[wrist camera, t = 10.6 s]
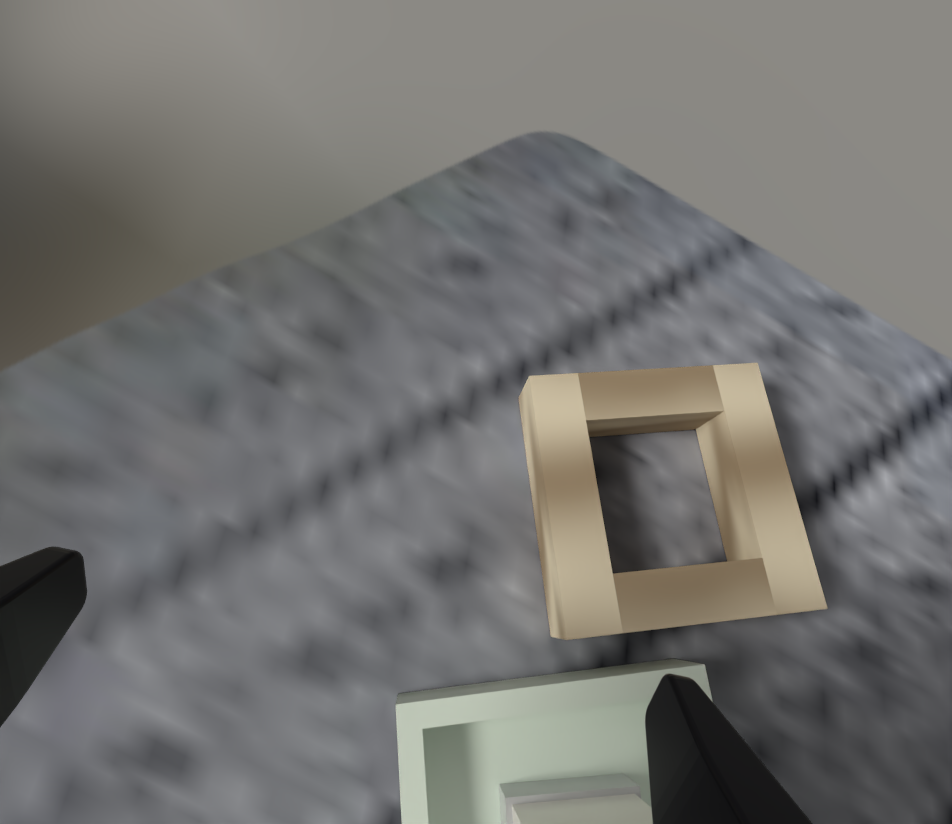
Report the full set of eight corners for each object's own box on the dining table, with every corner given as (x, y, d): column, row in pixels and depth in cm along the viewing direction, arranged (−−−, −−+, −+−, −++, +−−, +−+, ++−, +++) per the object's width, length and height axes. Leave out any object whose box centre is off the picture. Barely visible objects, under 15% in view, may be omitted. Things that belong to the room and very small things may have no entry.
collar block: (785, 609, 23) (827, 608, 21) (550, 636, 22) (567, 639, 19) (726, 385, 26) (757, 362, 24) (518, 398, 25) (529, 376, 22)
